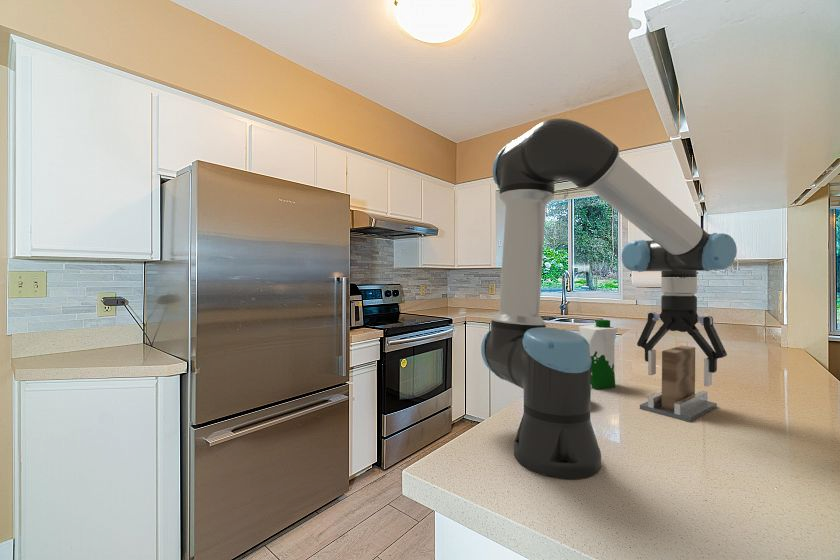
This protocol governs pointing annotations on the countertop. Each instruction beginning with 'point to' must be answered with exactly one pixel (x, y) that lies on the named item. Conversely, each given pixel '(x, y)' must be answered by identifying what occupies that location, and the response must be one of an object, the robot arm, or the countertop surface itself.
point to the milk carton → (601, 353)
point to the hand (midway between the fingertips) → (678, 379)
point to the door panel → (677, 375)
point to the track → (681, 406)
